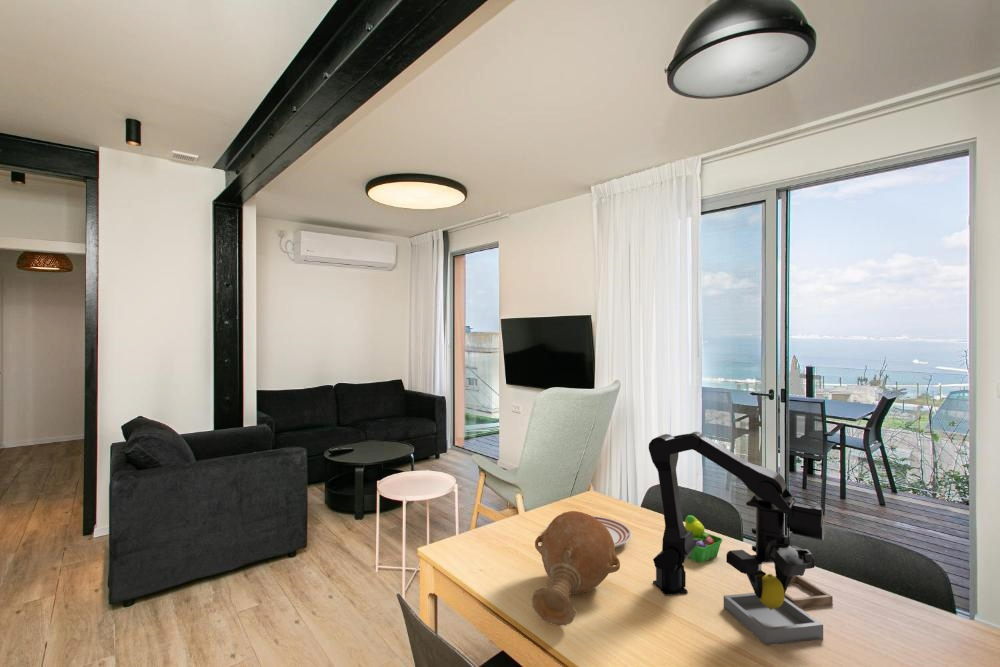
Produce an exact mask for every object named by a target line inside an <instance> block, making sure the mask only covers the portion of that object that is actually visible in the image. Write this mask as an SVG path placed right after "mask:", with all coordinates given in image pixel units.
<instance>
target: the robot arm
mask: <svg viewBox="0 0 1000 667" xmlns="http://www.w3.org/2000/svg"><path fill="white" fill-rule="evenodd" d="M692 450H693V451H695V452H697V453H698V454H700V455H701V456H703V457H704V458H706V459H708V460H709V461H711V462H712V463H714V464H715V465H717V466H719V467H720V468H721V469H724V470H726V471H727V472H729V473H730V474H731V475H733V476H735V477H737V479H739V480H740V481H741V482H742V483H743V484H744V485H745V487H746V488H747V489H748V490H749V491H750V492H752V493H753V494H754V495H753V496H752V497H751V498H748V500H747V501H746V502H745V505H746V506H748V507H751V508H755V527H753V528H751V533H752V534H754V535H755V545H751V551H752V552H754V553H755V554H750V553H748V552H746V551H745V550H744V549H734V550H733V549H732V550H729V551H727V552H726V555H725V556H726V563H727V564H728V565H730V566H732V567H733V568H734V569H735V570H737V571H738V572H740V573H741V574H746V576H747V578H748V580H749V582H750V585H751V587H752V589H753V593H755V594H756V596H757V597H758V598H761V596H762V577H763V576H765V575H767V573H766V572H765V571H763V569H762V565H766V564H774V571H775V576H776V578H777V579H779V581H780V582H781V583H782V585H783V588H784V595H785V593H786V592H787V590H788V587H789V585H790V584H789V583H790V581H791V579H792V577H793V576H797V575H798V576H800V577H802V576H804V575H805V572H806V570H809V569H815V558H814V556H813V553H812V552H811V551H810V550H809V549H808V548H807V549H806V548H805V549H803V548H801V547H799V546H797V545H791V541H790V537H789V536H787V535H786V534H785V514H786V527H787V529H788V530H789V532H792V535H796V536H800V537H804V538H808V539H813V540H818V541H821V542H824V540H825V527H826V526H825V524H826V523H825V520H824V513H823V511H824V508H822V507H820V506H814V505H813V506H810V505H806V504H801V503H797V500H796V499H795V498H794V496H793V495H792V494H791V492H790V491H789V490H788V488H787V483H786V481H785V478H784V477H783V475H781V474H780V473H778V472H776V471H774V470H772V469H769V468H766V467H764V466H763V465H762V466H761V465H758V464H754V463H753V462H749V461H747V460H745V459H743V458H742V457H740V456H739V455H737V454H735V453H733V452H732V451H731V450H728V449H727V448H725V447H724V446H722V445H720V444H718V443H717V442H715V441H713V440H712V439H710V438H708V437H706V436H705V435H704V434H703V433H702V432H699V431H693V432H691V433H683V434H678V435H675V436H674V435H671V434H668V433H665V434H661V435H659V436H657V437H654V438H652V439H651V440H650V442H649V443H648V452H649V455H650V458H651V459H650V460H651V461H652V464H653V465H654V468H656V471H657V475H658V482H659V490H660V497H661V504H662V512H663V519H664V520H663V521H664V531H663V536H662V541H661V542H662V545H661V546H662V547H661V551H659V553H657V555H655V557H654V558H653V559H652V561H653V564H654V567H655V580H653V581H652V582H653V585H654V586H655V587H656V588H657V589H658V590H659V591H660V593H662V594H663V595H665V596H673V595H682V594H688V593H689V591H688V590H687V589H686V584H687V582H686V579H687V578H686V576H687V575H686V573H687V572H686V570H685V566H684V565H683V564H684V563H685V561H687V559H689V558H688V557H689V556H690V555H691V554H692V552H693V548H694V547H695V544H694V542H693V532H692V531H687V530H686V528H685V525H684V521H683V513H682V504H681V503H682V502H681V498H680V490H679V484H678V483H679V482H678V475H677V467H678V466H677V465H678V460H679V453H682V452H687V451H692Z"/></svg>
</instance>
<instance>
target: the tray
mask: <svg viewBox="0 0 1000 667" xmlns="http://www.w3.org/2000/svg"><path fill="white" fill-rule="evenodd" d="M723 610H725V611H726V612H727V613H728V614H730V615H731V616H732V617H733V618H734V619H736V620H737V622H739V623H740V624H741V625H742V626H743V627H745V629H747V630H748V631H749V632H750V633H752V634H753V635H754V636H755V637H756V638H757V639H758V640H759V641H760V642H762V643H763V644H764V645H765V646H773V645H781V644H790V643H798V642H806V641H814V640H815V641H816V640H823V639H824V624H823V623H821V622H820V621H818V620H817V619H815V618H814V617H813V616H811V615H810V614H809V613H808V612H806V611H805V610H803V608H799V607H797V606H796V605H794V604H793V603H792V602H790V601H789V600H787V599H786V598H784V602H783V604H782V605H781V606H780V607H778V608H774V609H772V610H770V609H769V608H768V607H767V606H765V605H764V604H763V603H762V602H761V601H760V599H759V598H758V597H757V596H756V594H755V592H747V593H737V594H729V595H727V594H726V595H723Z"/></svg>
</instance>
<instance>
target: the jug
mask: <svg viewBox="0 0 1000 667" xmlns="http://www.w3.org/2000/svg"><path fill="white" fill-rule="evenodd" d="M593 516H594V515H591V514H588V513H586V512H585V513H584V512H582V511H577V510H569V511H566V512H562V513H560V514H559V515H557V516H555V518H553V520H552V521H550V522H549V523H550V524H549V523H548V524H549V526H548V525H547V526H548V527H547V526H546V528H547V529H545V531H544V532H543V533H541V534H540V535H538V536H537V537H536V538H535V540H534V547H535V549H536V551H537V552H538V553H539V554H540V555H541V561H542V563H543V568H544V570H545V573H546V575H547V577H548V578H549V580H550V581H551V584H550V585H549V587H548V586H547V587H546V586H544V587H540V588H538V589H536V590H535V591H534V593H533V594H532V598H531V605H532V606H531V607H533V608H532V609H533V610H534V612H535V613H536V614H537V615H538V616H539V617H540V618H541V619H542V620H544V621H545V622H547V623H549V624H551V625H554V626H559V627H560V626H567V625H570V624H571V623H573V621H574V617H575V616H576V615H577V610H576V609H575V608H574V606H573V604H572V602H571V601H570V599H569V597H570V594H583V593H587V592H590V591H591V590H593V589H595V588H596V587H598V586H599V585H600V584H601V583H602V582H603V581H604V580H605V579H606V578H607V577H608V575H609V574H613V573H616V572H618V571H619V570H620V567H621V562H620V561H621V560H620V559H619V558H618V556H617V555H616V547H615V545H614V541H613V539H612V536H611V534H610V532H609V531H608V529H607V528H606V527H605V526H604V524H602V523H601V522H600V521H599V520H597V519H596V518H594V517H593ZM539 543H541V545H539Z"/></svg>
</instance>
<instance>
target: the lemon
mask: <svg viewBox="0 0 1000 667" xmlns="http://www.w3.org/2000/svg"><path fill="white" fill-rule="evenodd" d="M775 576H776V575H773V574H772V573H768V574H767V573H766V575H765V576H763V577H762V596H761V598H759V599H760V601H761V602H762V603H763V604H764V605H765V606H767V607H768V608H769V609H770V610H772V609H774V608H778V607H780V606H781V605H782V604H783V602H784V588H783V585H782V583H781V582H780V581H779V579H777V578H776V577H775Z"/></svg>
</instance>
